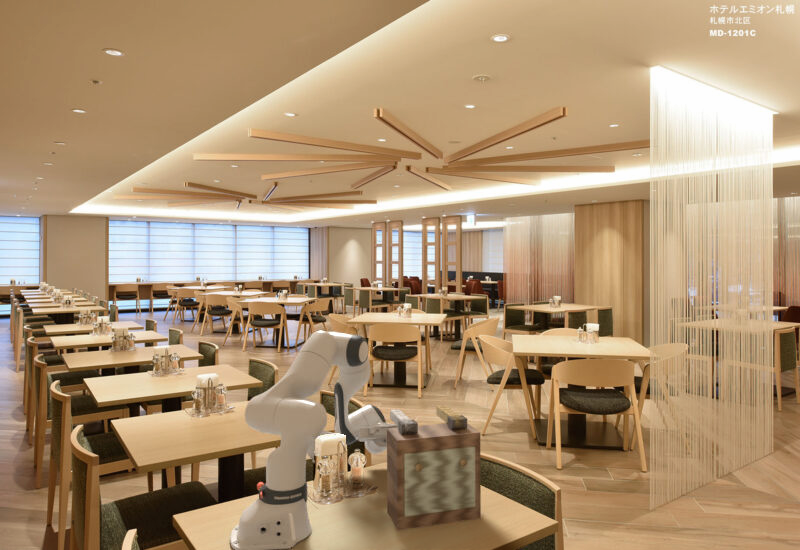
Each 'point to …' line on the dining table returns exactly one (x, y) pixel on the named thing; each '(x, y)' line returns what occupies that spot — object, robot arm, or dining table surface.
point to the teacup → (312, 446)
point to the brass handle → (451, 418)
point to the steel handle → (403, 422)
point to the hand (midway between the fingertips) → (390, 427)
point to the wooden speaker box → (433, 476)
